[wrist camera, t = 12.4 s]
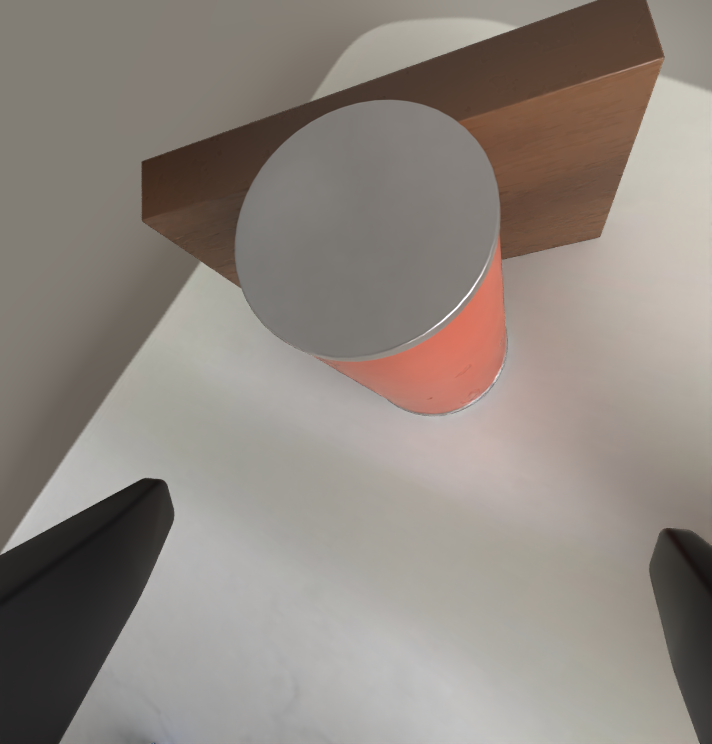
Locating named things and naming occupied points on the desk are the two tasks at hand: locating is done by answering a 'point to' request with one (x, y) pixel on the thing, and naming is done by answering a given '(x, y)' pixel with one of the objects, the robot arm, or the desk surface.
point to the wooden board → (474, 112)
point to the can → (381, 253)
